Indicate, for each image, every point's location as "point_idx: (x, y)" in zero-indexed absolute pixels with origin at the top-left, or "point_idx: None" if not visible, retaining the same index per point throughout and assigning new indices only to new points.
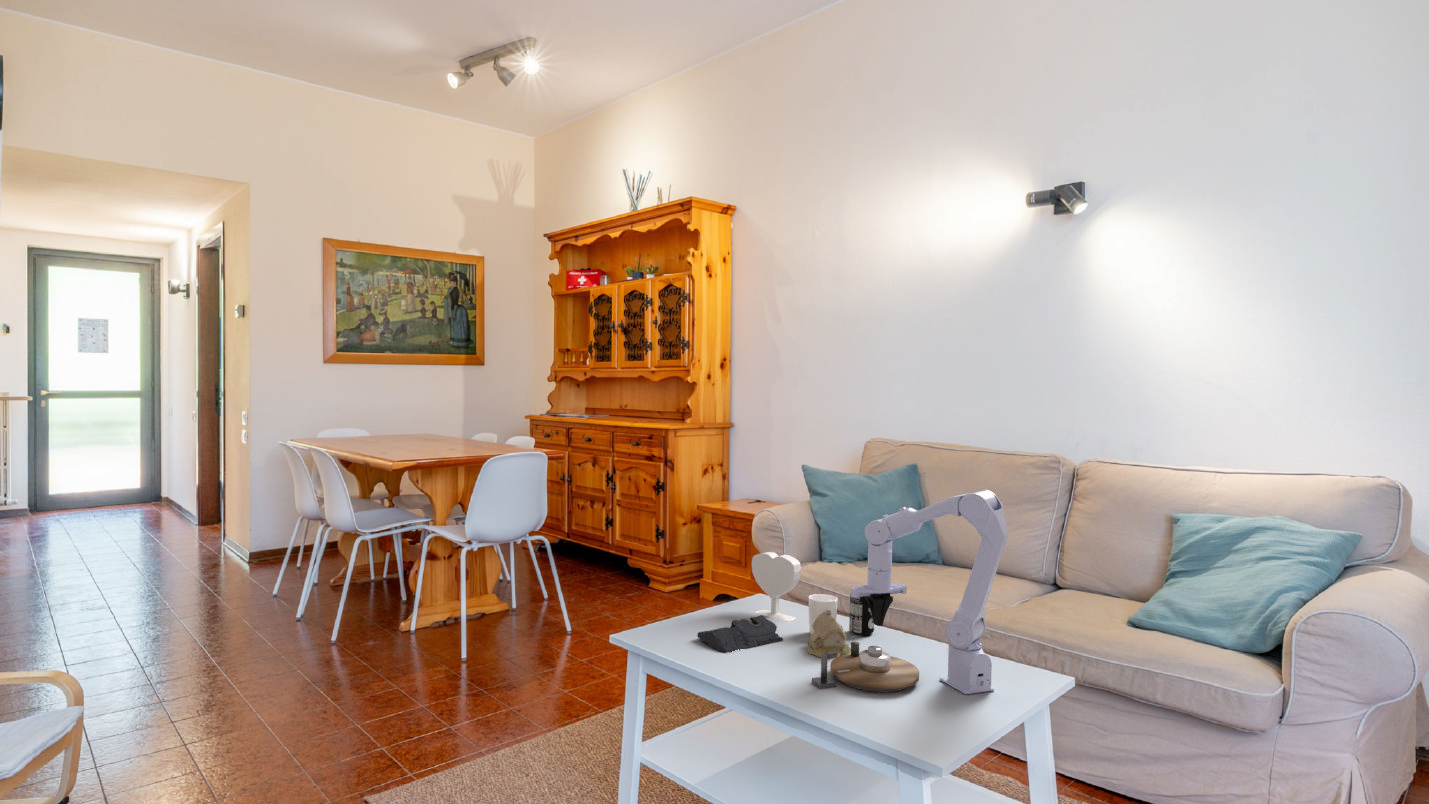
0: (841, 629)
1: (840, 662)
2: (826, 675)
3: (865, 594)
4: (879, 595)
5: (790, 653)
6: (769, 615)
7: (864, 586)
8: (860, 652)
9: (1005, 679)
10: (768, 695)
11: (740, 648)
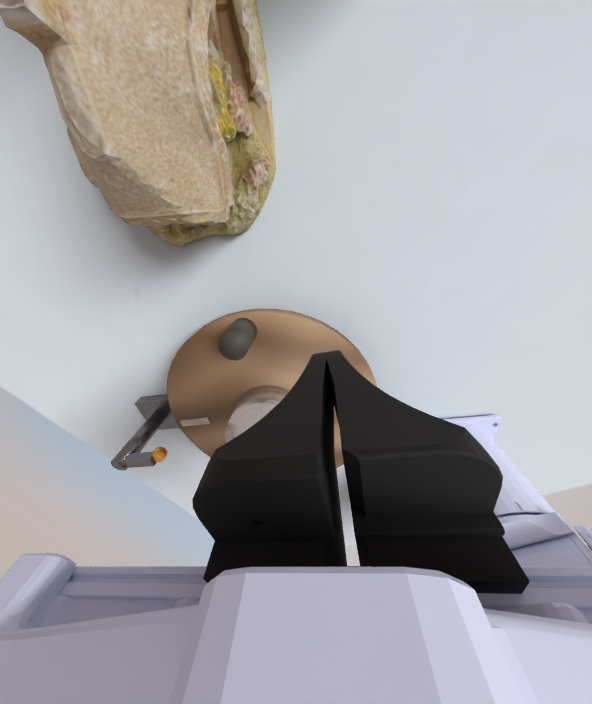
0: (186, 207)
1: (193, 375)
2: (158, 427)
3: (166, 605)
4: (364, 549)
5: (52, 176)
6: None
7: (95, 696)
8: (231, 420)
9: (568, 435)
10: (71, 431)
11: None
